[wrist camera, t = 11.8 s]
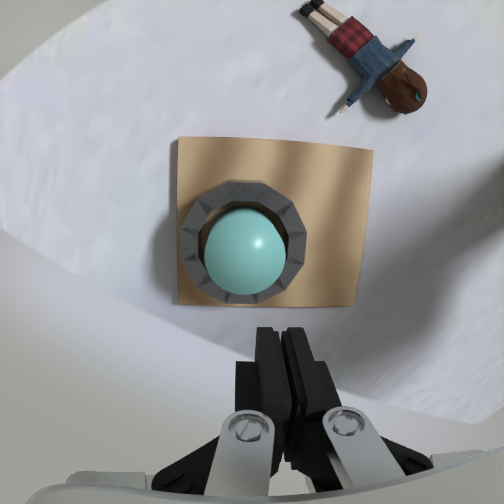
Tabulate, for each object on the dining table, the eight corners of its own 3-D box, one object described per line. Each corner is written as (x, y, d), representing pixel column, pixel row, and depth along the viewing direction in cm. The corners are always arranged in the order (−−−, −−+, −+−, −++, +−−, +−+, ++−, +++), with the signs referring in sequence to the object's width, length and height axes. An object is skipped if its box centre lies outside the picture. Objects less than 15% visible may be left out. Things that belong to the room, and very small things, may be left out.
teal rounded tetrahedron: (276, 206, 29) (288, 218, 23) (272, 268, 30) (282, 295, 25) (209, 204, 28) (204, 216, 23) (209, 267, 30) (204, 294, 24)
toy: (259, 50, 26) (371, 153, 29) (261, 30, 22) (391, 151, 24) (344, -18, 24) (441, 75, 27) (356, -39, 19) (465, 65, 22)
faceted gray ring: (302, 183, 28) (311, 186, 25) (293, 290, 31) (299, 304, 28) (185, 178, 27) (180, 181, 25) (185, 288, 30) (181, 302, 28)
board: (369, 150, 29) (373, 150, 28) (350, 301, 33) (353, 306, 32) (180, 137, 27) (178, 136, 26) (180, 300, 32) (179, 304, 31)
